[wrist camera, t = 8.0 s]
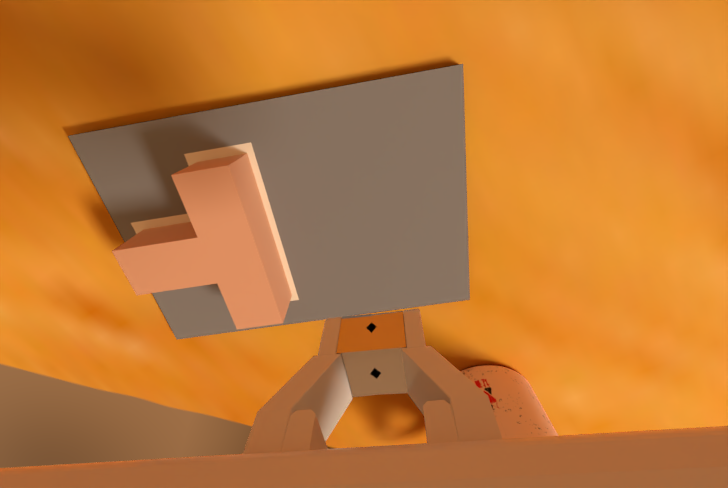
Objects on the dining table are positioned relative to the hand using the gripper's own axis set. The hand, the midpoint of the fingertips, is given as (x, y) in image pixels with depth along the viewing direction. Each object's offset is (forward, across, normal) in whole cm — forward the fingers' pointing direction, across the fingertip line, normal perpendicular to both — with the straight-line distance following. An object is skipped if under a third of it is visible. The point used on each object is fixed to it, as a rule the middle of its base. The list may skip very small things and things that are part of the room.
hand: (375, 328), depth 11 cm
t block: (+11, +11, +1) cm, 15 cm away
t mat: (+11, +6, +1) cm, 13 cm away
